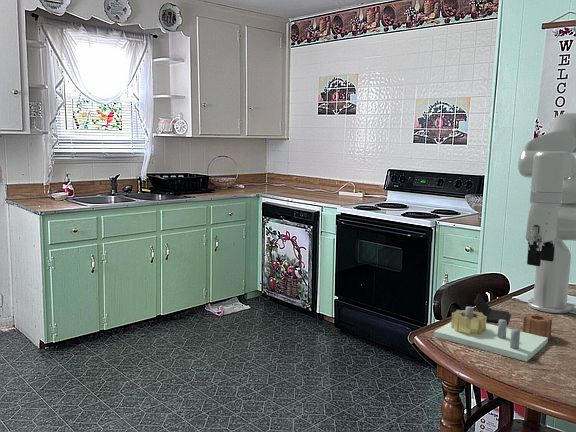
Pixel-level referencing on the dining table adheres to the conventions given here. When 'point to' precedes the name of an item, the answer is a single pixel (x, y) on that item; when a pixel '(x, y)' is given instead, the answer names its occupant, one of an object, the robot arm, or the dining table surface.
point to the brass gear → (468, 322)
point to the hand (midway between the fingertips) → (540, 262)
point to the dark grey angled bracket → (490, 311)
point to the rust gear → (537, 325)
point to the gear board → (496, 339)
